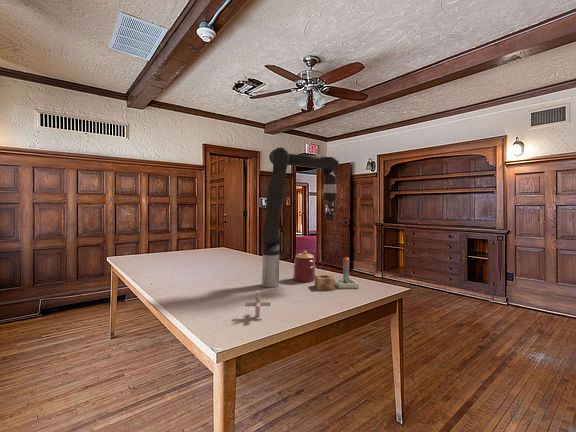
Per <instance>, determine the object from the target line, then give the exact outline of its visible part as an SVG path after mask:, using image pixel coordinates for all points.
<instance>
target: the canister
mask: <svg viewBox="0 0 576 432" xmlns="http://www.w3.org/2000/svg"><path fill="white" fill-rule="evenodd" d="M293 261H294V264H293V280H294V281H295V282H300V283H311V282H315V275H316V265H315V263H316V259H315V256H314V255H313V254H311V253H308V251H307V250H303V251H302V253H297V254H296V255H295V258H294V259H293Z"/></svg>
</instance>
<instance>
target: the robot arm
mask: <svg viewBox="0 0 576 432" xmlns="http://www.w3.org/2000/svg"><path fill="white" fill-rule="evenodd" d="M268 158H269V161H270V163H271V164H272V174H271V177H270V180H269V183H268V186H267V190H266V200H265V202H266V203H265V219H264V224H263V229H262V234H261V235H262V239H263V245H262V266H261V267H262V269H261V286H262V287H265V288H276V287H279V286H280V251H281V250H280V249H281V230H280V227H279V224H280V216H281V212H282V208H283V203H284V197H285V186H286V175H287V168H288V166H295V167H296V166H297V167H303V168H304V167H305V168H310V169H322V173H323V174H322V175H323V177H324V180H323V191H322V192H323V194H322V195H323V196H322V197H323V201H324V214H325V221H330V222H333V221H334V215H335V213H336V201H337V192H338V191H337V176H336V175H335V173H334V170H336V169H338V167H339V166H340V162H339V160H338V159H337V158H336V157H333V156H321V155H320V156H319V155H313V154H296V153H289V151H288V149H286V148H284V147H281V146H280V147H277V148H275V149H273V150H272V151H270V153H269V157H268Z"/></svg>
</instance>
